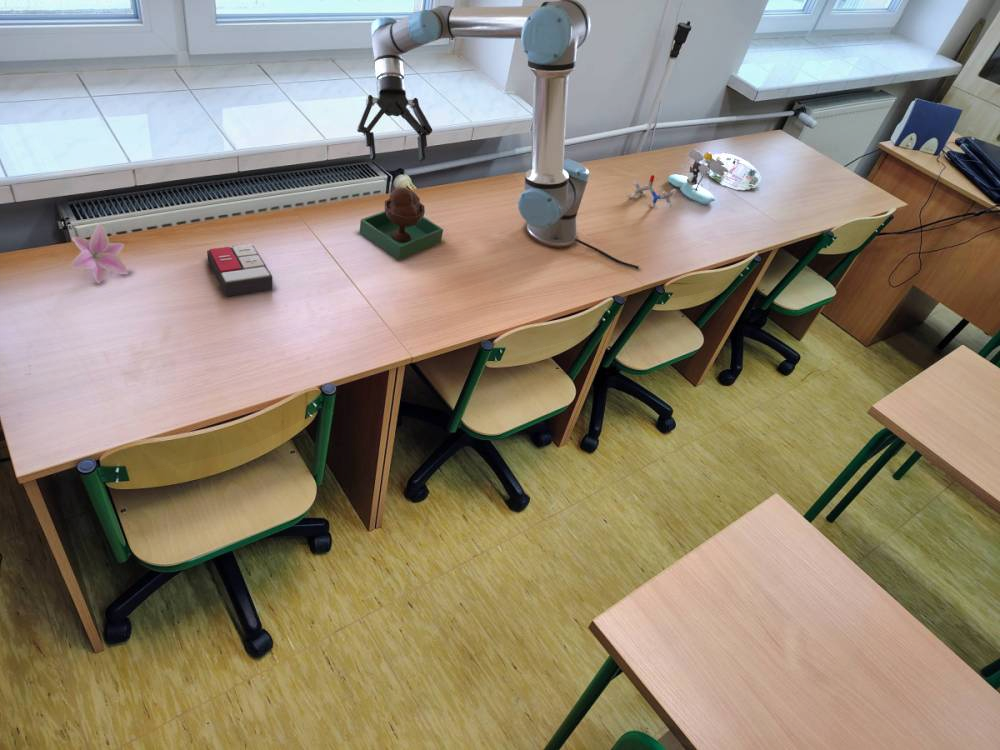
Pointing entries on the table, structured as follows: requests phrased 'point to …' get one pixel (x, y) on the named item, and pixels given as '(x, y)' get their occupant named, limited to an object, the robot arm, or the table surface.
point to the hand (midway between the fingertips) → (398, 159)
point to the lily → (98, 254)
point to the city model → (736, 172)
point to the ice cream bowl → (403, 211)
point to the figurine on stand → (690, 183)
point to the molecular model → (653, 192)
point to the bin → (382, 228)
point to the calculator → (239, 270)
